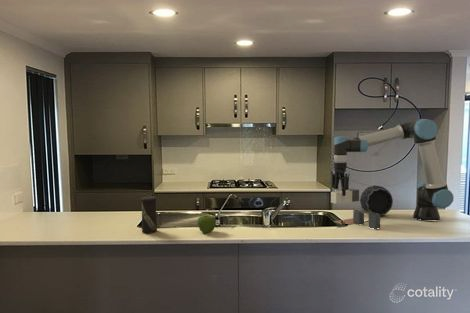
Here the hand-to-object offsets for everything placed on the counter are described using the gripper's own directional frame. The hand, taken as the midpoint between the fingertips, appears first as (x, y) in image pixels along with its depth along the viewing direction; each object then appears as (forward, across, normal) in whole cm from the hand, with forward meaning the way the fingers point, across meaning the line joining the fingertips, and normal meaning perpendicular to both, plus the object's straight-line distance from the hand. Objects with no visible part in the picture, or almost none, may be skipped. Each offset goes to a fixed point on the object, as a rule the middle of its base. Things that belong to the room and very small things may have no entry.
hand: (339, 200), depth 221 cm
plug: (+1, 0, +4) cm, 4 cm away
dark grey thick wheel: (+15, -4, +36) cm, 39 cm away
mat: (+14, 0, +10) cm, 18 cm away
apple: (+14, -21, -79) cm, 83 cm away
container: (+14, -38, -107) cm, 114 cm away
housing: (+14, +12, +10) cm, 21 cm away
